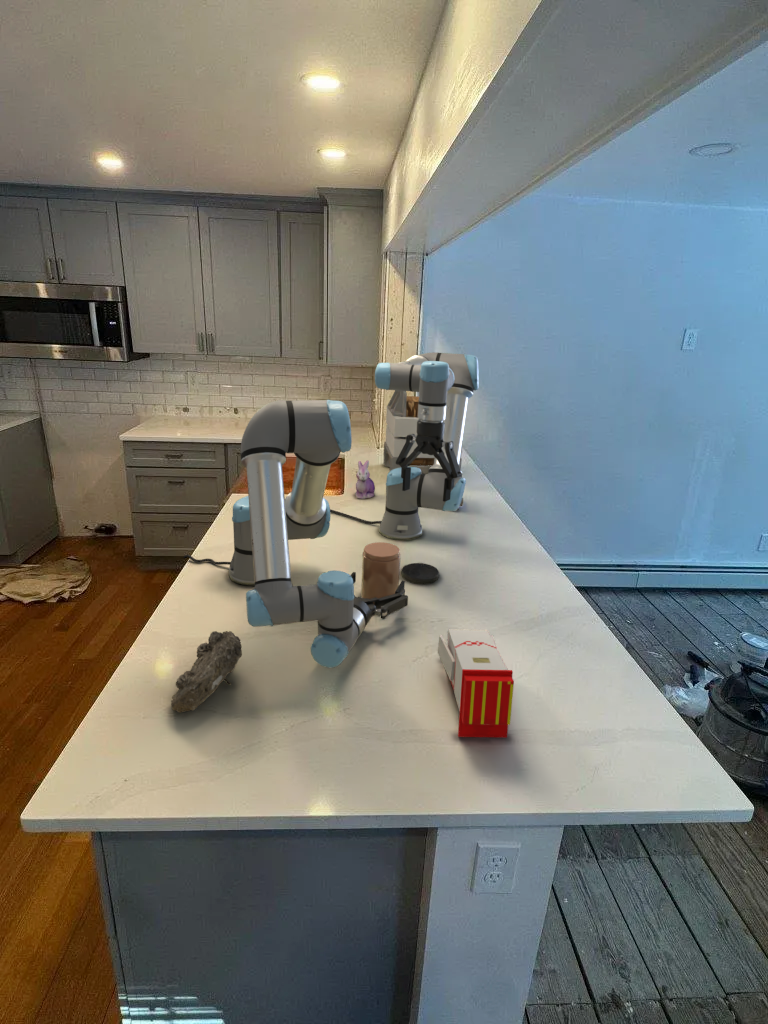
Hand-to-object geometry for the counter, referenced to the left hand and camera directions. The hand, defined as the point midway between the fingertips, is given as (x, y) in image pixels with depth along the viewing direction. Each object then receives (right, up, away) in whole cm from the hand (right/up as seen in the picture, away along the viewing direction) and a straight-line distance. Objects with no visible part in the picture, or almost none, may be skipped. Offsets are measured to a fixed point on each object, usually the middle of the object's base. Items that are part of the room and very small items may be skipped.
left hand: (378, 580), depth 151 cm
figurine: (-7, +25, +88) cm, 91 cm away
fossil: (-34, -17, -33) cm, 51 cm away
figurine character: (+30, +21, +80) cm, 88 cm away
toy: (+19, -19, -32) cm, 42 cm away
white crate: (+19, +37, +124) cm, 131 cm away
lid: (+12, 0, +18) cm, 22 cm away
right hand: (+13, +23, +10) cm, 28 cm away
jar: (0, -5, +5) cm, 7 cm away
